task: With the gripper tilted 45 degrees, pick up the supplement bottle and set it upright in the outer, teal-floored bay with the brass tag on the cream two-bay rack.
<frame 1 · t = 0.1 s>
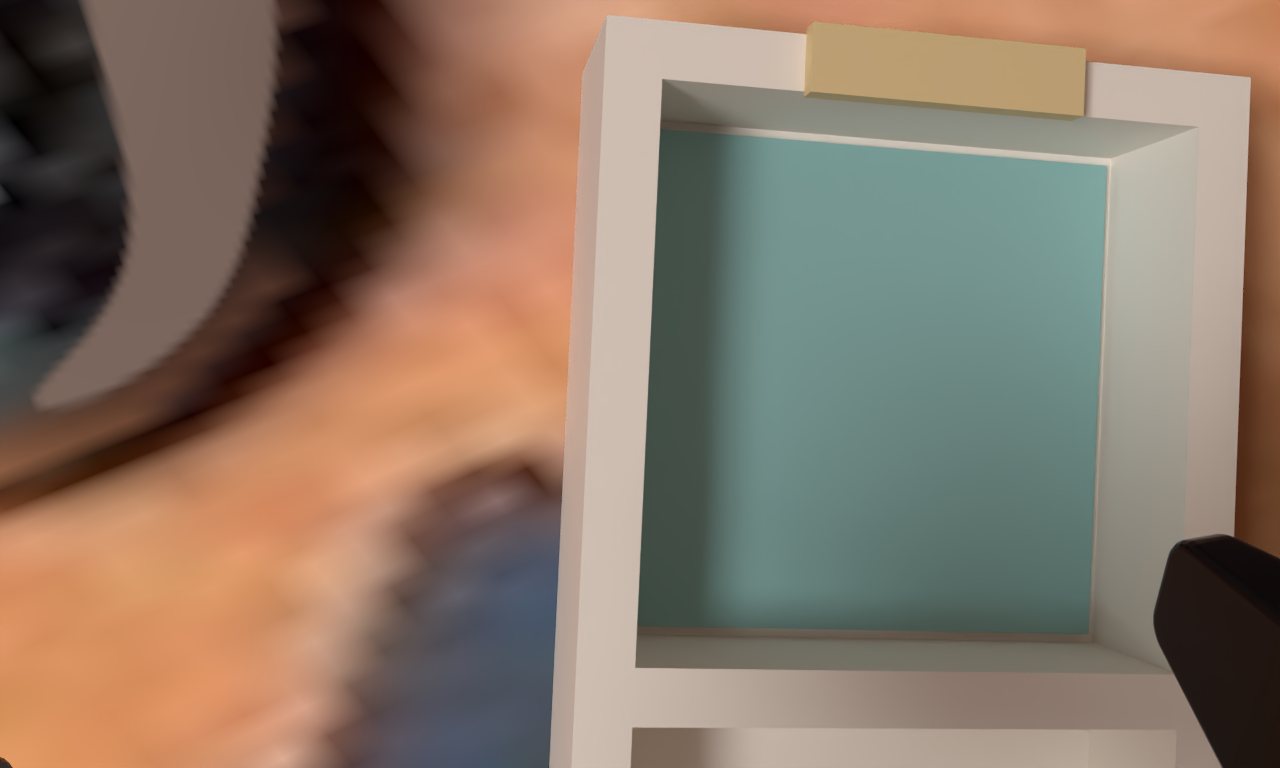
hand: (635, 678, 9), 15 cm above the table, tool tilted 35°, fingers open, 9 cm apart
bay rack: (845, 654, 25), on the table
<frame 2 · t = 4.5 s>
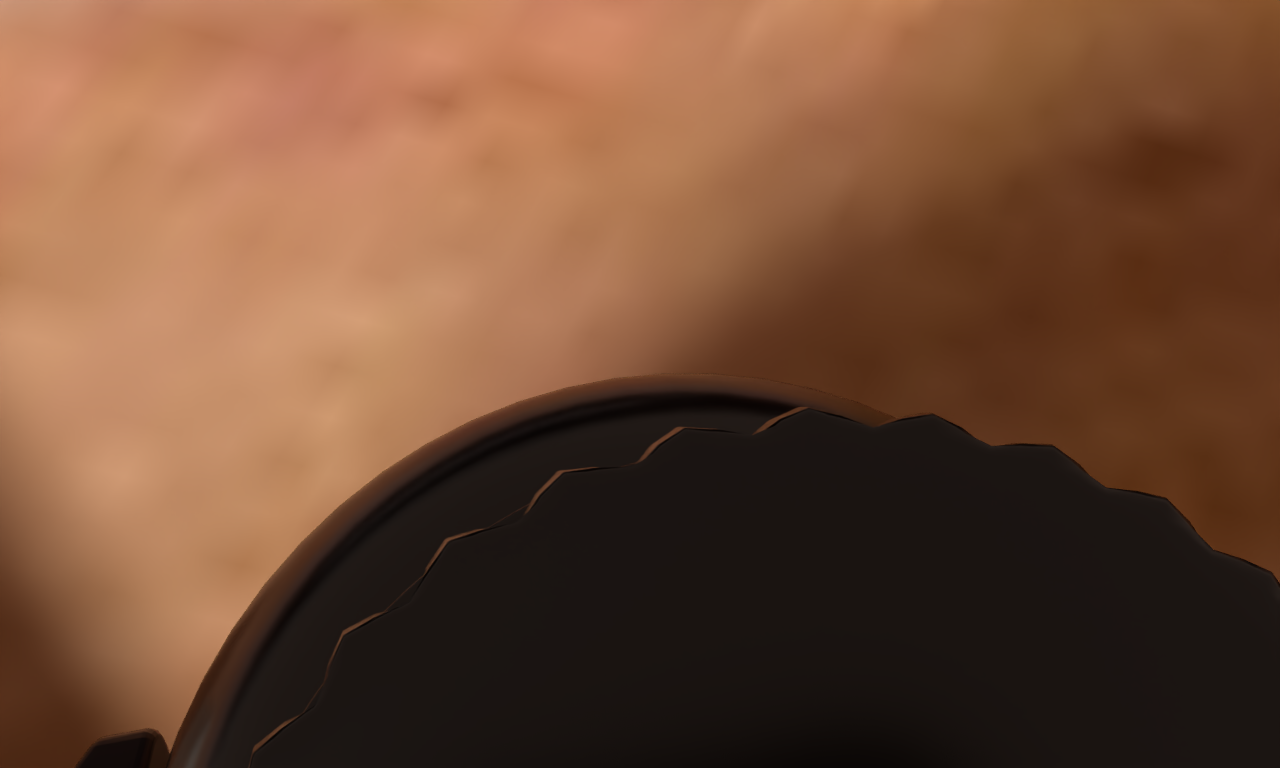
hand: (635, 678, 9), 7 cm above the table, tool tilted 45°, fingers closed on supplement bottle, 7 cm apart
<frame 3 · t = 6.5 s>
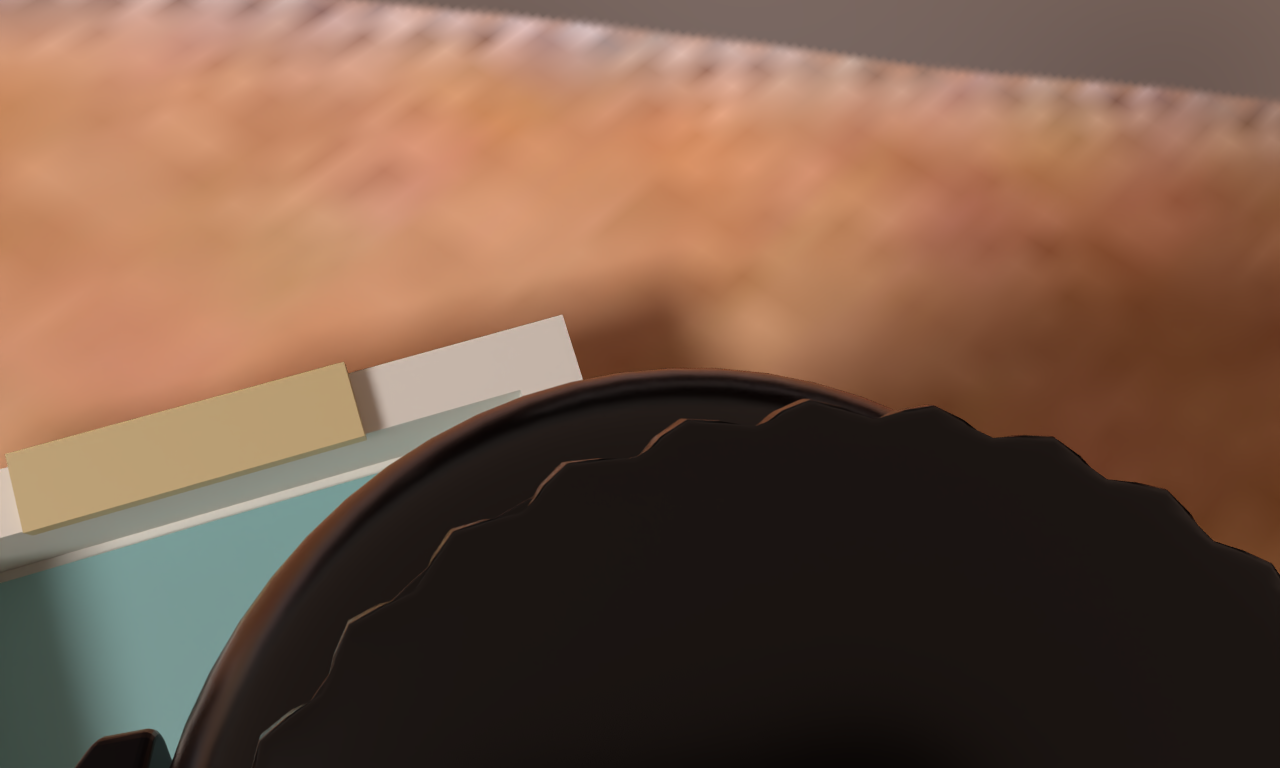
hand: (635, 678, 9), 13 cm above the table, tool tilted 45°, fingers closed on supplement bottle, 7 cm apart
when the fingers open (9 cm above the table, at t = 8.7 s): supplement bottle drops 1 cm, resting on bay rack.
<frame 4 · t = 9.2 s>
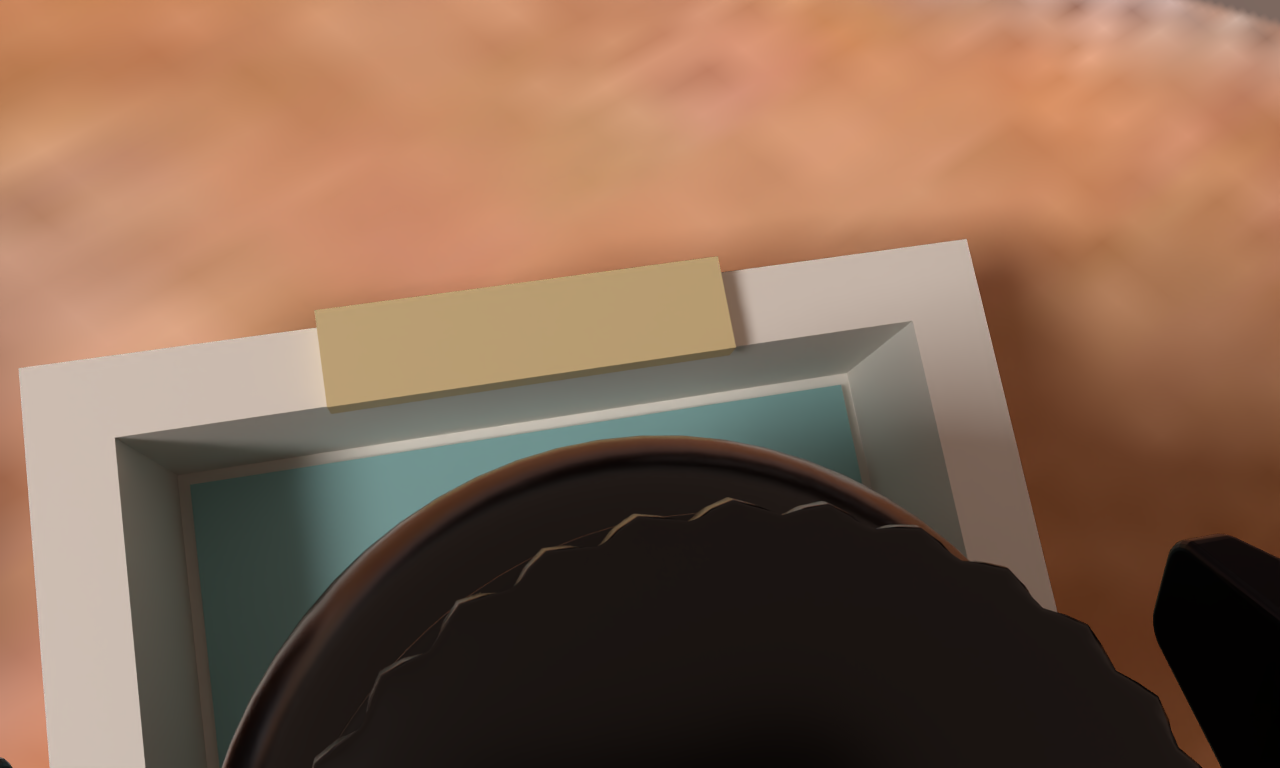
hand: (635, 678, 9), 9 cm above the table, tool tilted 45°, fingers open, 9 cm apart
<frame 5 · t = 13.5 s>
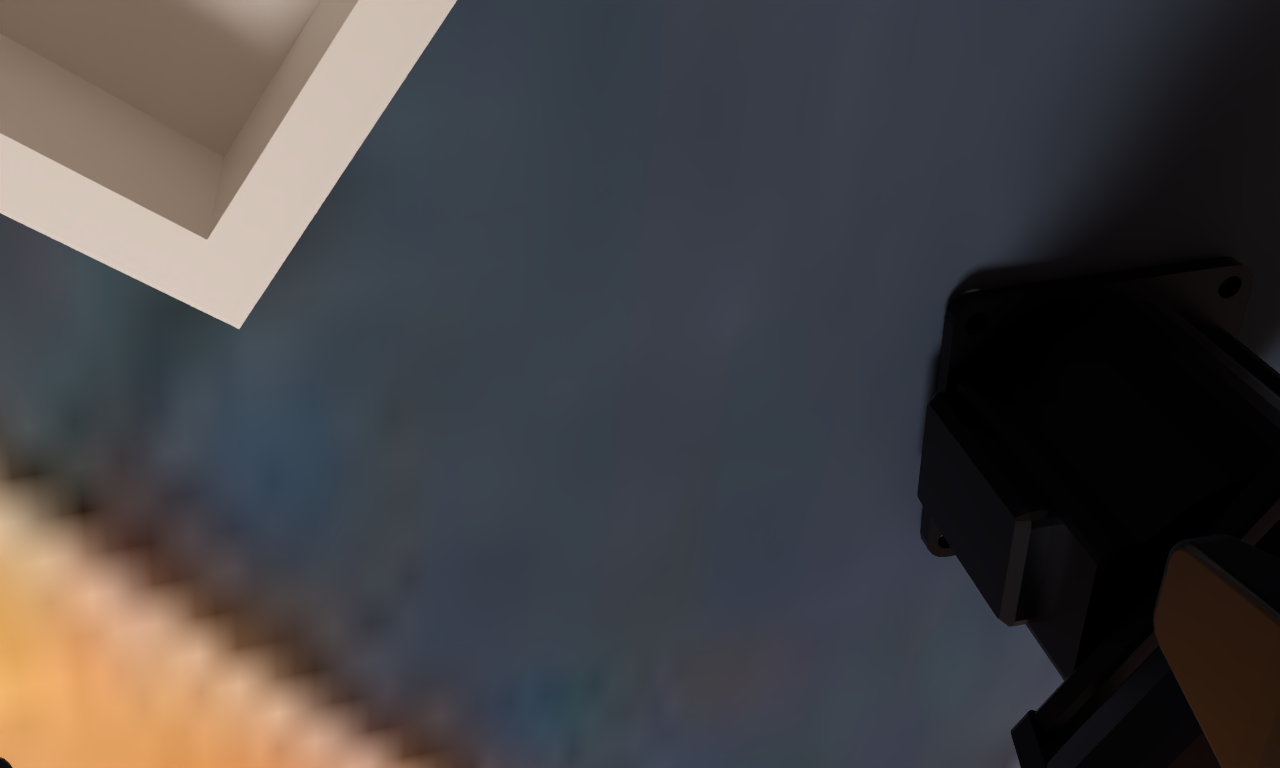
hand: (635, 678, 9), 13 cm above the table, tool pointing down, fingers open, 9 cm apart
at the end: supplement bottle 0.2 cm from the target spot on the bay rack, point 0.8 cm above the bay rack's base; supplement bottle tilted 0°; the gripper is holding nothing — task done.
